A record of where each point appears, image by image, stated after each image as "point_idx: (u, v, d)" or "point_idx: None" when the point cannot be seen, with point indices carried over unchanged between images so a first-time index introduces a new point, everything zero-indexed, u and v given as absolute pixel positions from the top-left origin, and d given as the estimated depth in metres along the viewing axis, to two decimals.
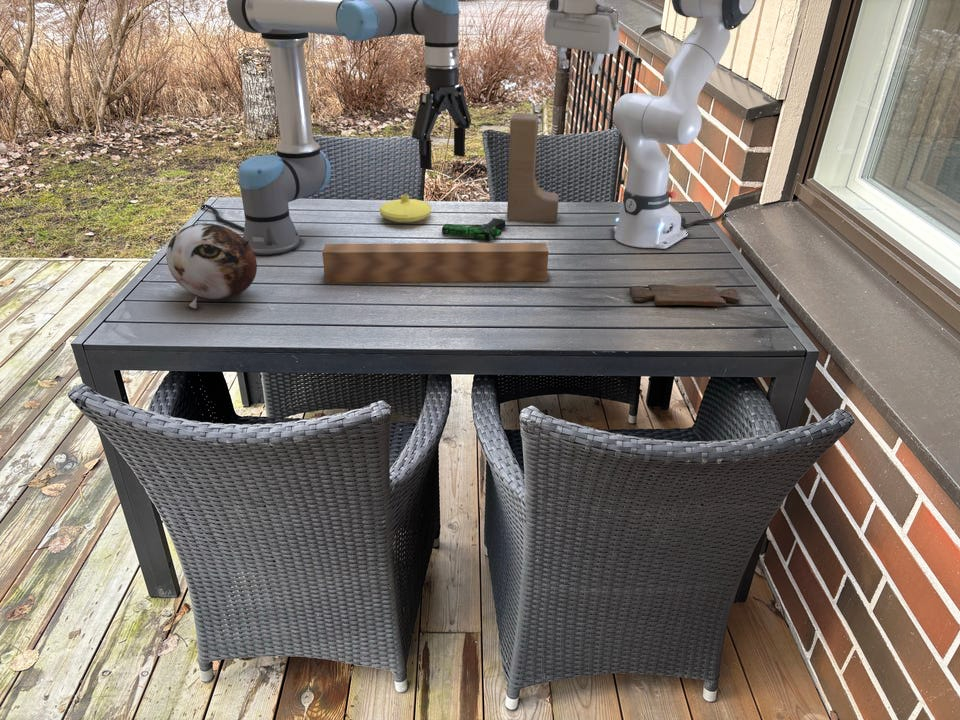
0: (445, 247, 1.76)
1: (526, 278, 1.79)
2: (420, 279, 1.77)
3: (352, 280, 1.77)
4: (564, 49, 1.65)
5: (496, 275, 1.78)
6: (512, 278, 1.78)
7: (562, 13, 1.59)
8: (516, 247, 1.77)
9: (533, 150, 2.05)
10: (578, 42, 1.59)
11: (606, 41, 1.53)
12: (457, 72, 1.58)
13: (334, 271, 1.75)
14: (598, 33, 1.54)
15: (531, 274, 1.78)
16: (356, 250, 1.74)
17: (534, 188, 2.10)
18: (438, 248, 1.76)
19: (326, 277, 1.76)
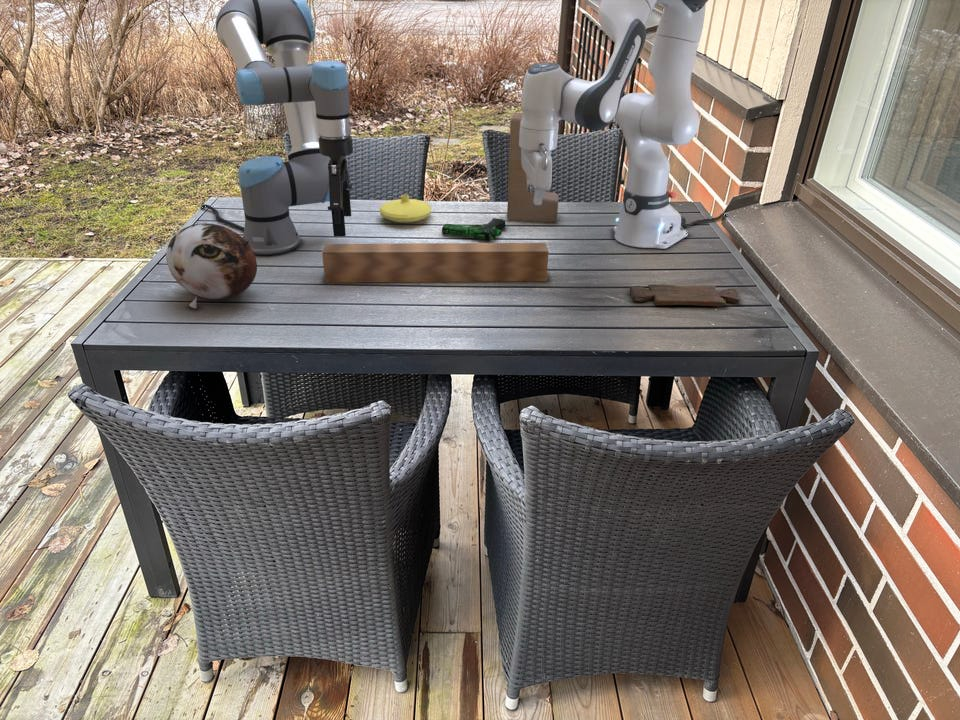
0: (445, 247, 1.76)
1: (526, 278, 1.79)
2: (420, 279, 1.77)
3: (352, 280, 1.77)
4: None
5: (496, 275, 1.78)
6: (512, 278, 1.78)
7: None
8: (516, 247, 1.77)
9: None
10: (529, 173, 1.67)
11: (535, 178, 1.59)
12: (351, 139, 1.63)
13: (334, 271, 1.75)
14: (534, 169, 1.61)
15: (531, 274, 1.78)
16: (356, 250, 1.74)
17: None
18: (438, 248, 1.76)
19: (326, 277, 1.76)
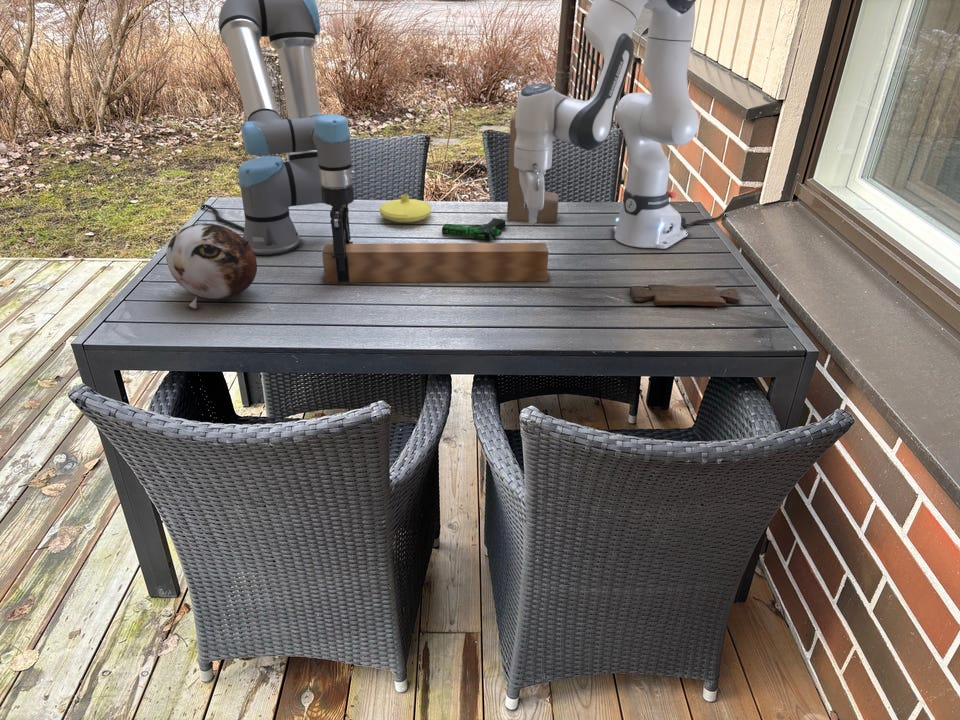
0: (445, 247, 1.76)
1: (526, 278, 1.79)
2: (420, 279, 1.77)
3: (352, 280, 1.77)
4: None
5: (496, 275, 1.78)
6: (512, 278, 1.78)
7: None
8: (516, 247, 1.77)
9: None
10: (524, 192, 1.69)
11: (528, 198, 1.61)
12: None
13: (334, 271, 1.75)
14: (527, 189, 1.63)
15: (531, 274, 1.78)
16: (356, 250, 1.74)
17: None
18: (438, 248, 1.76)
19: (326, 277, 1.76)
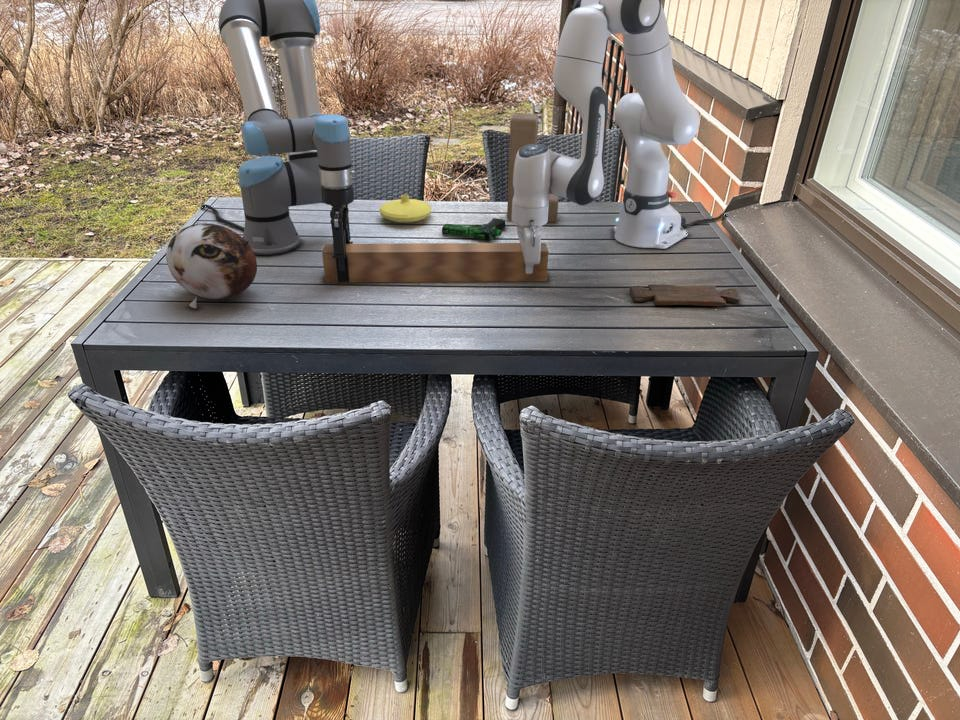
0: (445, 247, 1.76)
1: (526, 278, 1.79)
2: (420, 279, 1.77)
3: (351, 280, 1.77)
4: None
5: (496, 275, 1.78)
6: (512, 278, 1.78)
7: None
8: (516, 247, 1.77)
9: None
10: (521, 245, 1.76)
11: (525, 254, 1.68)
12: None
13: (334, 271, 1.75)
14: (524, 244, 1.70)
15: (531, 274, 1.78)
16: (356, 250, 1.74)
17: None
18: (438, 248, 1.76)
19: (326, 277, 1.76)
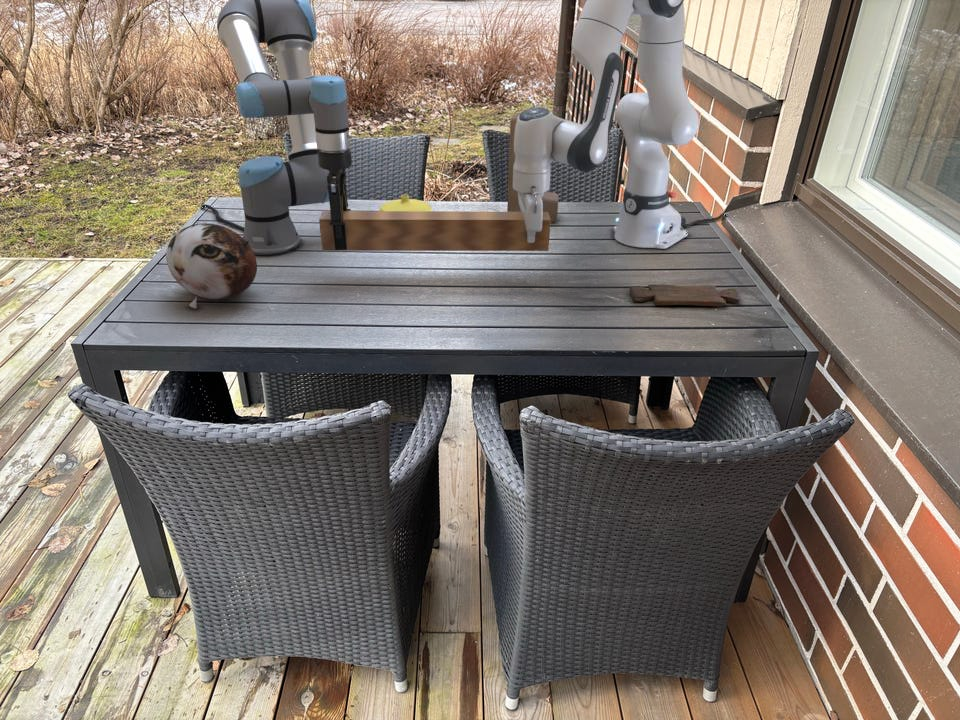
0: (445, 215, 1.72)
1: (527, 248, 1.75)
2: (419, 248, 1.73)
3: (349, 248, 1.73)
4: None
5: (497, 244, 1.74)
6: (513, 248, 1.74)
7: None
8: (518, 216, 1.73)
9: None
10: (523, 213, 1.72)
11: (526, 221, 1.64)
12: (350, 152, 1.64)
13: (332, 239, 1.71)
14: None
15: (533, 244, 1.74)
16: (353, 217, 1.70)
17: None
18: (438, 216, 1.72)
19: (323, 245, 1.72)
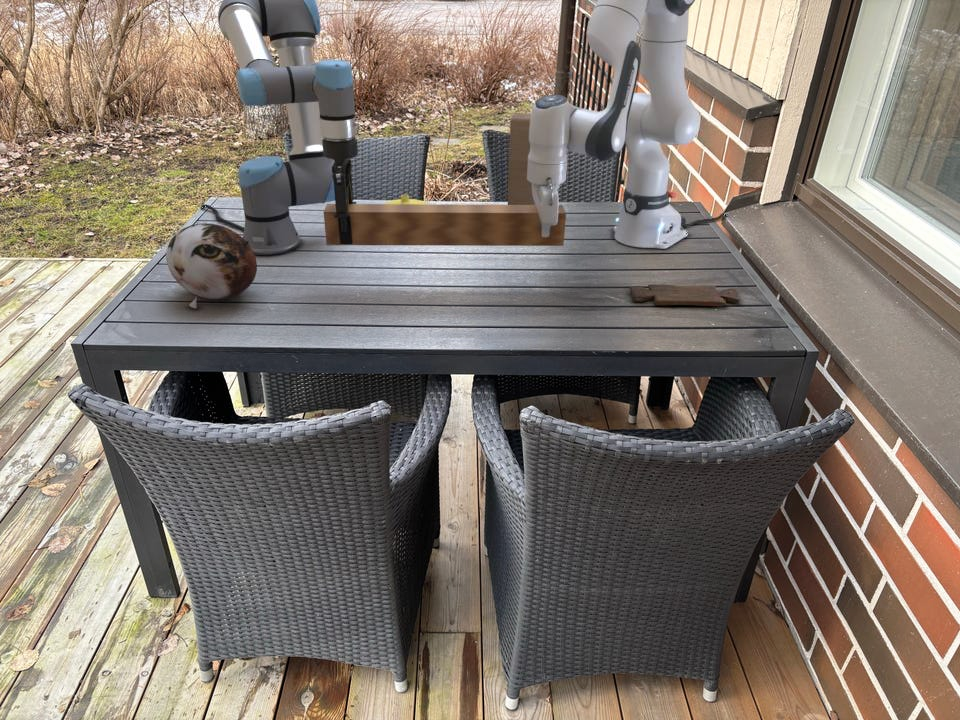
0: (455, 208, 1.65)
1: (541, 243, 1.67)
2: (428, 242, 1.66)
3: (355, 242, 1.65)
4: None
5: (510, 238, 1.66)
6: (526, 243, 1.67)
7: None
8: (531, 209, 1.65)
9: None
10: (537, 206, 1.64)
11: (542, 214, 1.56)
12: None
13: (337, 232, 1.63)
14: (541, 204, 1.58)
15: (547, 238, 1.66)
16: (360, 210, 1.62)
17: None
18: (448, 209, 1.64)
19: (328, 240, 1.64)
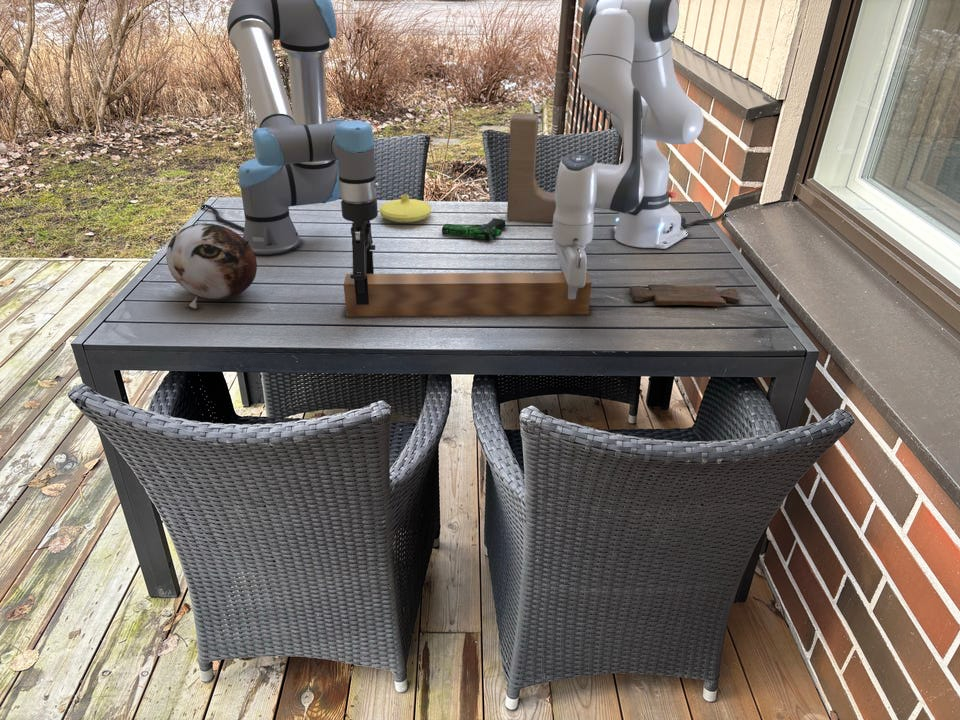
0: (478, 277, 1.61)
1: (566, 312, 1.63)
2: (450, 313, 1.62)
3: (375, 313, 1.61)
4: None
5: (534, 308, 1.62)
6: (550, 312, 1.63)
7: None
8: (556, 278, 1.61)
9: (533, 150, 2.05)
10: (562, 265, 1.59)
11: (569, 276, 1.51)
12: None
13: None
14: (567, 266, 1.53)
15: (572, 307, 1.63)
16: (380, 281, 1.58)
17: (534, 188, 2.10)
18: (470, 279, 1.60)
19: (348, 311, 1.60)
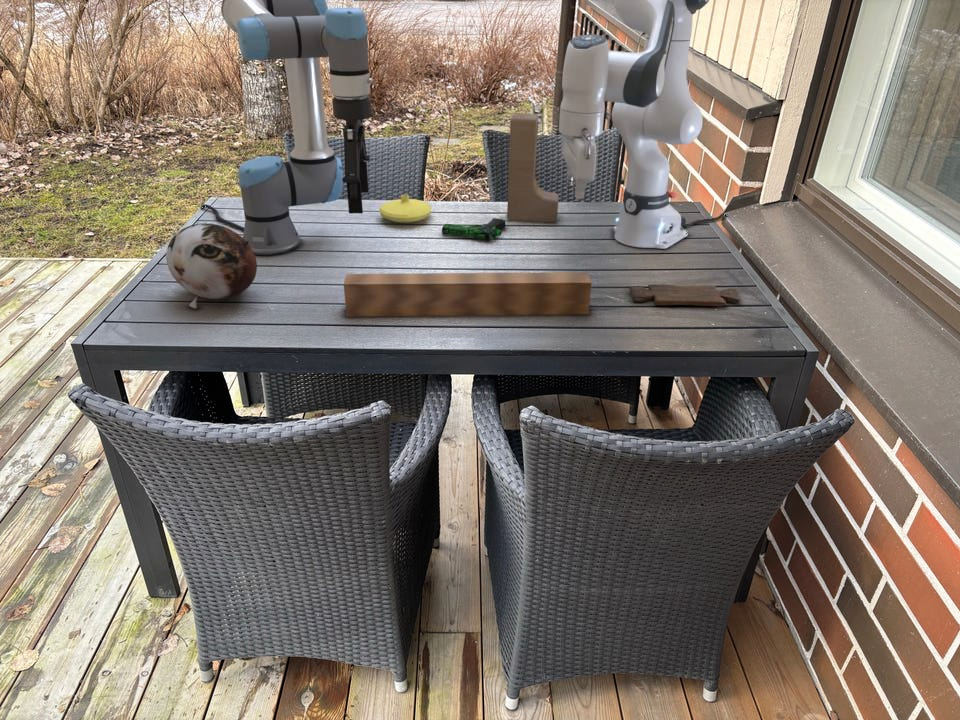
0: (478, 277, 1.61)
1: (566, 312, 1.63)
2: (450, 313, 1.62)
3: (375, 313, 1.61)
4: None
5: (534, 308, 1.62)
6: (550, 312, 1.63)
7: None
8: (556, 278, 1.61)
9: (533, 150, 2.05)
10: (570, 162, 1.47)
11: (577, 168, 1.39)
12: None
13: (357, 304, 1.60)
14: (576, 158, 1.41)
15: (572, 307, 1.63)
16: (380, 281, 1.58)
17: (534, 188, 2.10)
18: (470, 279, 1.60)
19: (348, 311, 1.60)
